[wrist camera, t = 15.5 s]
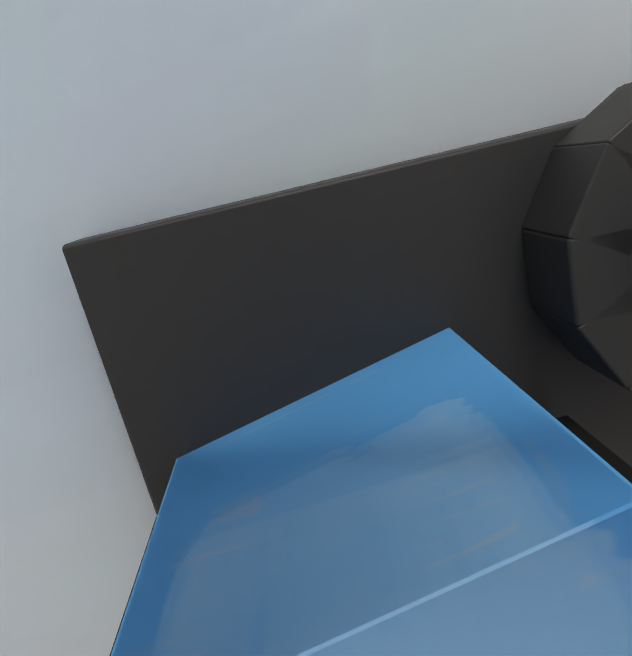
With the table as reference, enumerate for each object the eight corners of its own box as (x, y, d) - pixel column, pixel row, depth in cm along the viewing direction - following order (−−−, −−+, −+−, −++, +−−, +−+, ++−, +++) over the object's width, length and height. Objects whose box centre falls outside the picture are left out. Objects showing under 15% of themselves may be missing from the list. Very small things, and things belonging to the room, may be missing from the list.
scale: (73, 217, 11) (4, 231, 8) (759, 52, 12) (921, 12, 9) (235, 686, 15) (226, 810, 12) (763, 552, 15) (881, 643, 12)
